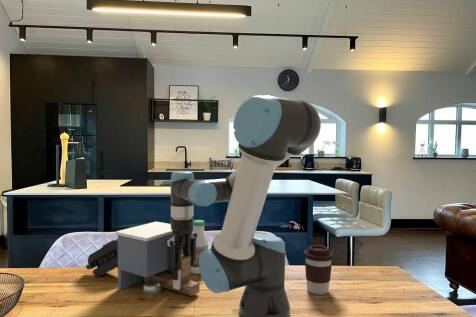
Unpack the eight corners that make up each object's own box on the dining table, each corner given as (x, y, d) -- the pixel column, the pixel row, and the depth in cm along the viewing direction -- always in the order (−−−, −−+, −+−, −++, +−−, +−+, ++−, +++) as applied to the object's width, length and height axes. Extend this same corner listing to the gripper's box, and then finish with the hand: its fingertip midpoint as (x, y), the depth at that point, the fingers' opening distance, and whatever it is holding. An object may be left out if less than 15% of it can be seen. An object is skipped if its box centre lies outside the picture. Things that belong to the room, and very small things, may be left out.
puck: (163, 288, 124) (163, 280, 124) (157, 295, 118) (157, 287, 118) (146, 287, 124) (146, 279, 124) (140, 294, 118) (140, 286, 118)
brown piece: (199, 291, 119) (199, 259, 118) (191, 295, 115) (191, 262, 115) (152, 277, 131) (152, 247, 130) (144, 280, 127) (144, 250, 127)
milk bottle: (186, 269, 142) (186, 219, 142) (204, 266, 146) (204, 218, 145) (191, 275, 135) (192, 223, 135) (210, 272, 139) (211, 222, 138)
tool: (136, 273, 129) (118, 236, 130) (95, 295, 133) (77, 259, 134) (144, 267, 135) (126, 232, 136) (105, 288, 139) (87, 254, 140)
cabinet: (185, 280, 130) (185, 226, 130) (146, 299, 114) (146, 238, 113) (156, 272, 138) (156, 221, 138) (115, 289, 122) (115, 231, 121)
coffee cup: (308, 283, 130) (309, 242, 129) (336, 289, 125) (337, 246, 124) (298, 292, 121) (299, 249, 121) (327, 299, 116) (328, 254, 115)
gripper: (190, 212, 128) (189, 276, 129) (155, 220, 114) (155, 292, 115) (206, 214, 124) (206, 280, 125) (172, 223, 110) (172, 298, 111)
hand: (181, 286), depth 120 cm, fingers closed on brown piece, 4 cm apart
